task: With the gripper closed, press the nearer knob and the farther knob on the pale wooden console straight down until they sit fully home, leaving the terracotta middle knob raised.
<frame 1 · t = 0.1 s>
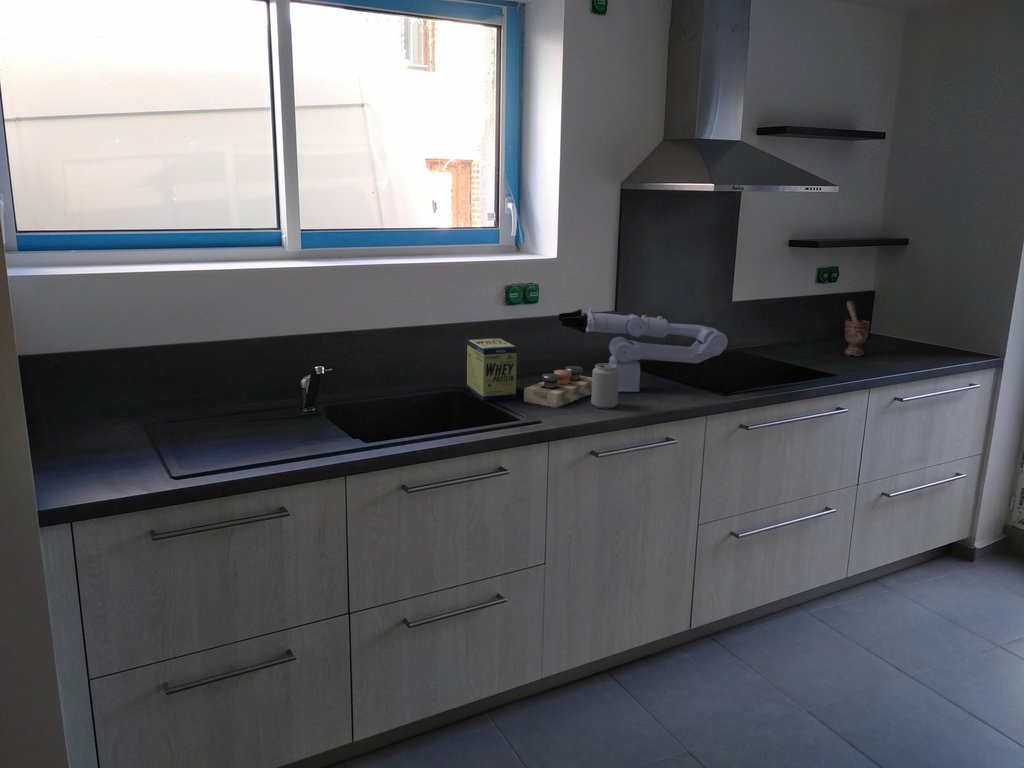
hand: (560, 319, 248), 22 cm above the worktop, tool horizontal, fingers open, 7 cm apart
knob 1: (550, 383, 239), point 5 cm above the worktop, slide at 0.0 cm
protein box: (490, 394, 246), on the worktop
console: (561, 396, 245), on the worktop
can: (604, 406, 235), on the worktop
mortar and pestle: (850, 354, 316), on the worktop
knob middle: (562, 379, 244), point 5 cm above the worktop, slide at 0.0 cm
knob 2: (573, 375, 249), point 5 cm above the worktop, slide at 0.0 cm
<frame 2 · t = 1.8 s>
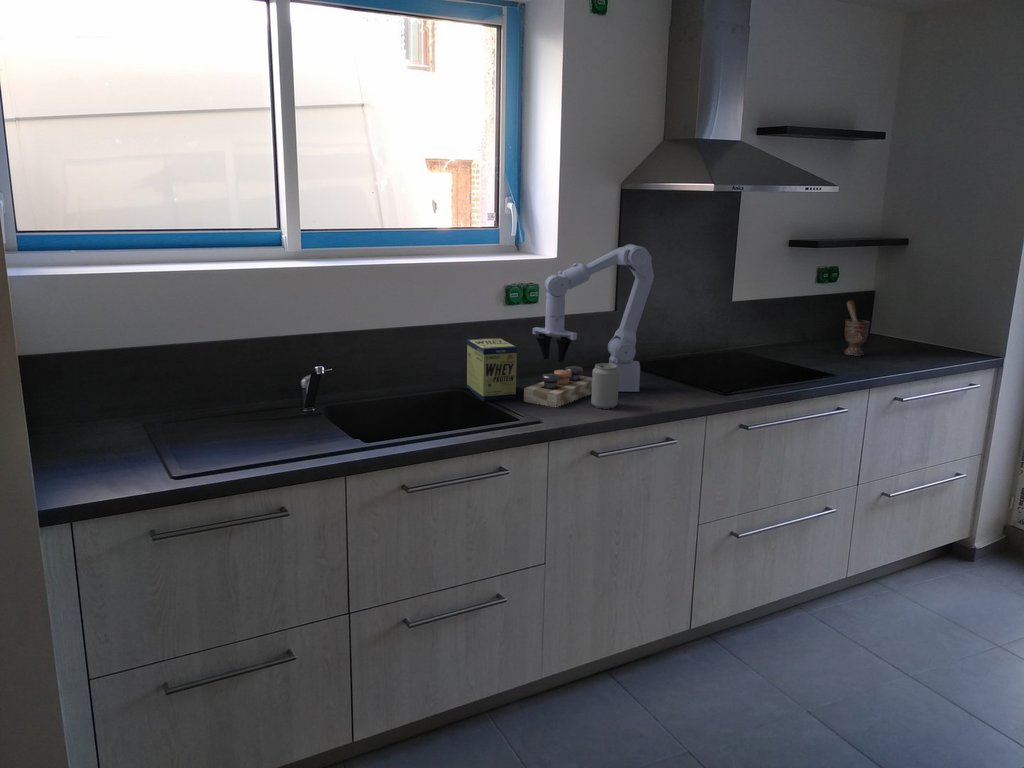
hand: (553, 360, 249), 9 cm above the worktop, tool pointing down, fingers open, 5 cm apart
nothing on the worktop moved.
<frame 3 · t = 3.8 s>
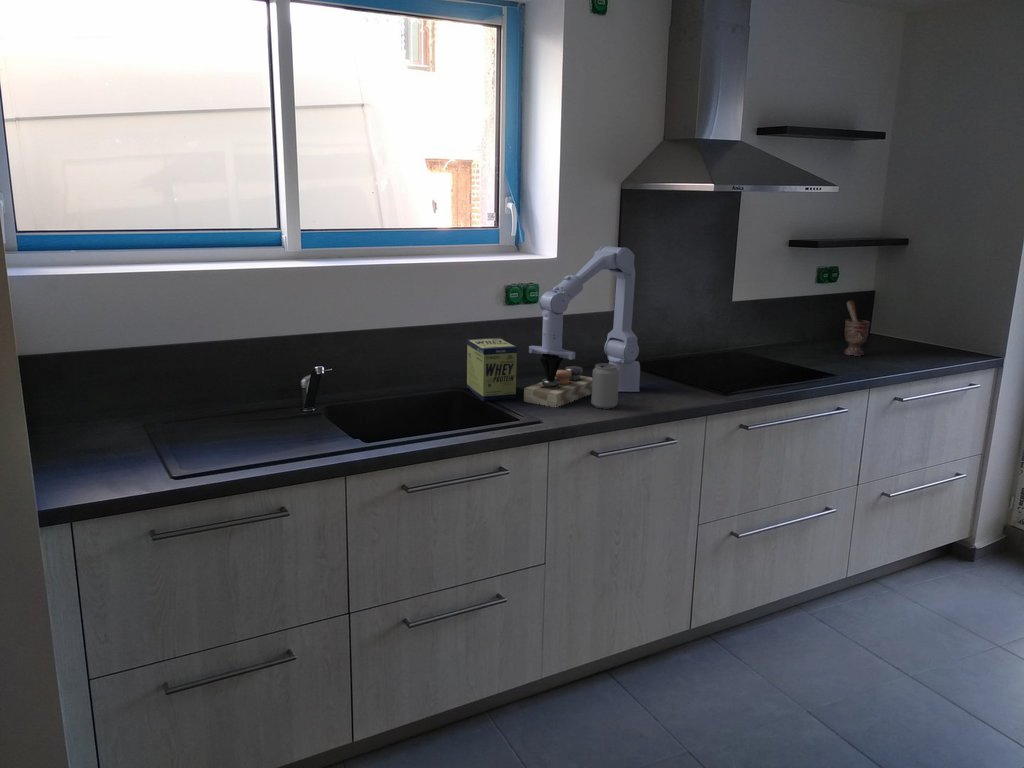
hand: (550, 380, 238), 6 cm above the worktop, tool pointing down, fingers closed, pressing on knob 1
knob 1: (550, 387, 239), point 4 cm above the worktop, slide at 1.4 cm, touching gripper
everything else where it was.
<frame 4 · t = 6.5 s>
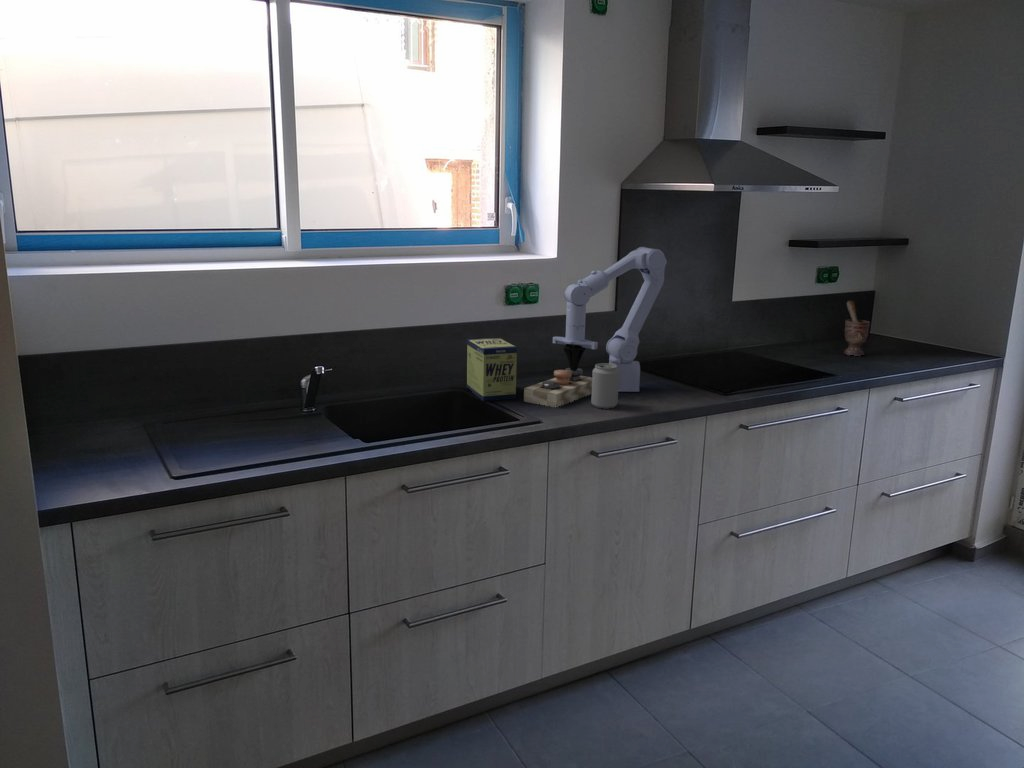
hand: (573, 369, 248), 7 cm above the worktop, tool pointing down, fingers closed, pressing on knob 2
knob 1: (550, 390, 239), point 3 cm above the worktop, slide at 2.3 cm
knob 2: (573, 376, 249), point 5 cm above the worktop, slide at 0.5 cm, touching gripper
everything else where it was.
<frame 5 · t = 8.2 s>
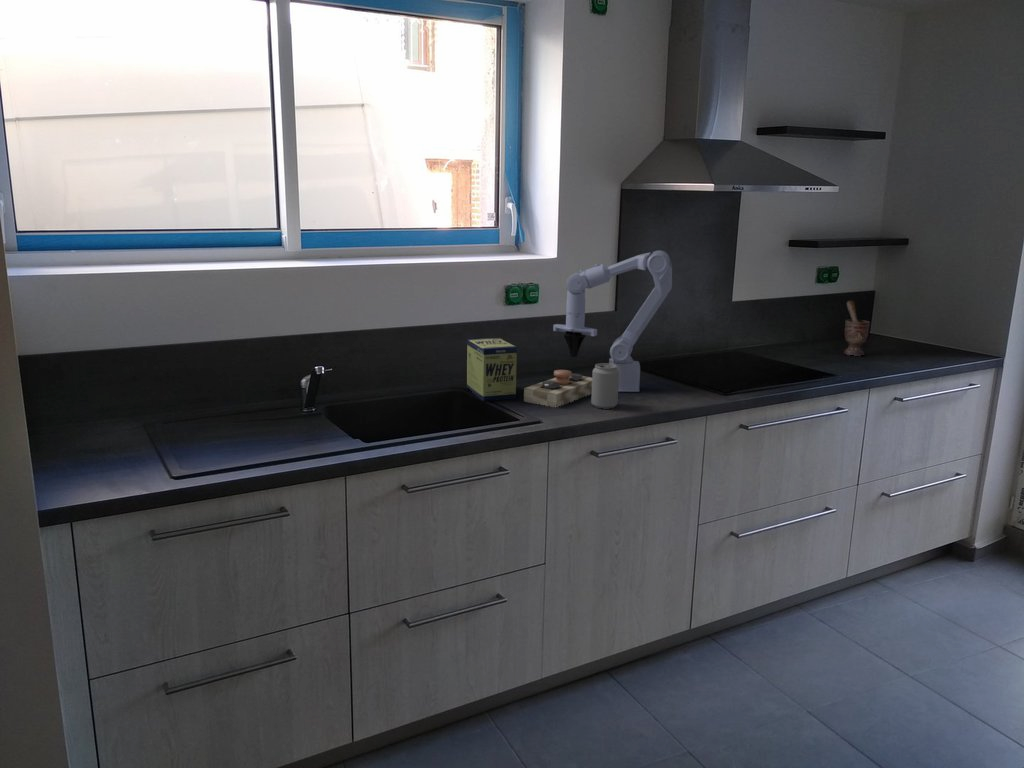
hand: (573, 356, 256), 9 cm above the worktop, tool pointing down, fingers closed
knob 2: (573, 382, 249), point 3 cm above the worktop, slide at 2.3 cm
everything else where it was.
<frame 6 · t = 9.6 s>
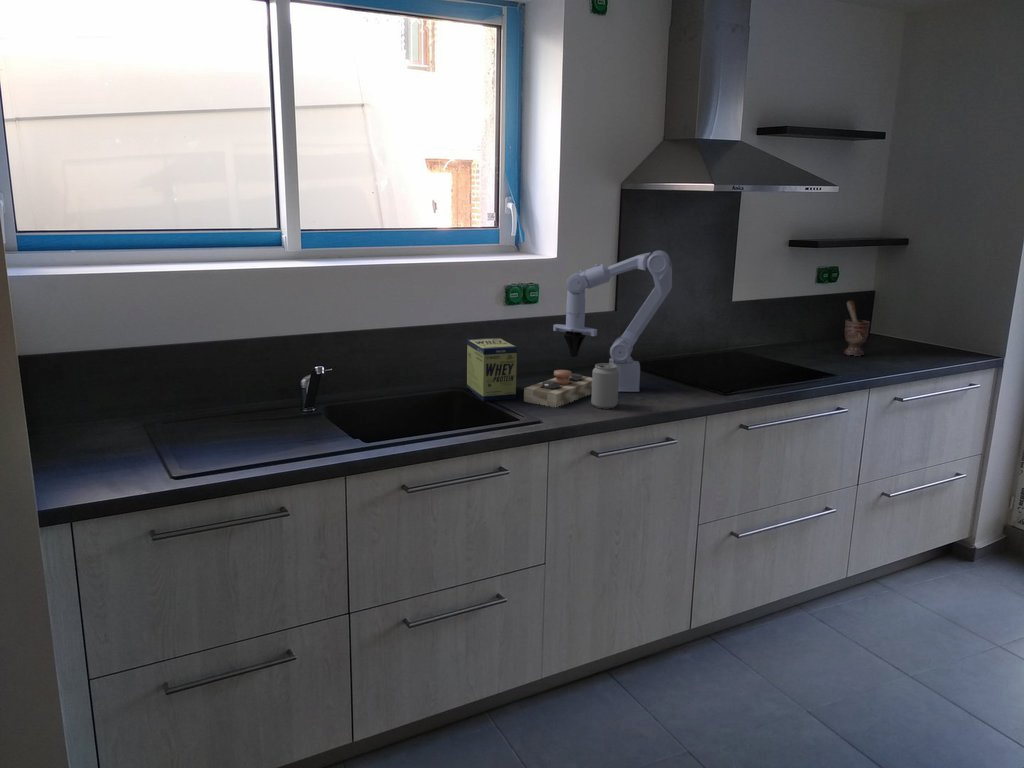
hand: (573, 356, 256), 9 cm above the worktop, tool pointing down, fingers closed
nothing on the worktop moved.
at the end: knob 1 slide at 2.3 cm; knob 2 slide at 2.3 cm; knob middle slide at 0.0 cm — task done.
